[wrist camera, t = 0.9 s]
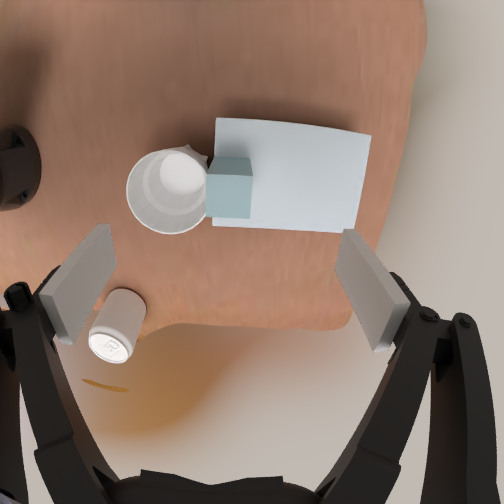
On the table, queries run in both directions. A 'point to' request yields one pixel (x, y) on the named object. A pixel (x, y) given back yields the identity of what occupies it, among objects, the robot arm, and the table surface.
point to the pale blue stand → (285, 175)
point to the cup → (169, 190)
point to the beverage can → (117, 326)
